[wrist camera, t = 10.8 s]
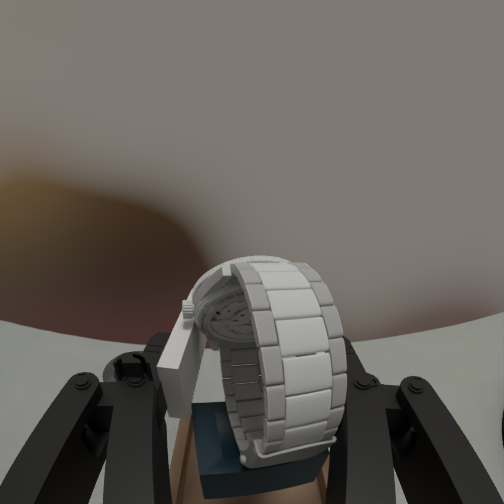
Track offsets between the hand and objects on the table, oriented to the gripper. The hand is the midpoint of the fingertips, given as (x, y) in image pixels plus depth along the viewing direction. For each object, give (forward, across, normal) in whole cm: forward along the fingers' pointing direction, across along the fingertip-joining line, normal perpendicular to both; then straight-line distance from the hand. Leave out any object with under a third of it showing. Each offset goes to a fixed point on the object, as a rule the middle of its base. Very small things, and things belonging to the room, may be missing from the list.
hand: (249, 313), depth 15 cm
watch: (-5, 0, -7) cm, 9 cm away
